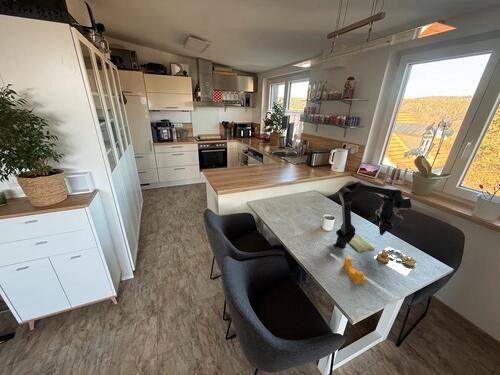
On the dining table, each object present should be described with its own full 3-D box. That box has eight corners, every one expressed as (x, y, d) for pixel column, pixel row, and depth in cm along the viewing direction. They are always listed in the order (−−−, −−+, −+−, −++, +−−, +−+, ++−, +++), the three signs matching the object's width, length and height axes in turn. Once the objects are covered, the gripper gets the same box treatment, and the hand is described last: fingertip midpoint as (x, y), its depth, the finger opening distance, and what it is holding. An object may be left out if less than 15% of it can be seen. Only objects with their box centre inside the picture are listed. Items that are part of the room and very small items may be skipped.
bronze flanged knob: (385, 264, 110) (388, 256, 108) (374, 258, 114) (377, 250, 112) (390, 260, 113) (393, 252, 111) (379, 254, 118) (382, 246, 115)
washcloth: (355, 234, 137) (356, 231, 136) (375, 252, 121) (376, 248, 120) (338, 237, 134) (339, 233, 133) (357, 255, 119) (358, 251, 117)
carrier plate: (405, 277, 103) (408, 270, 101) (373, 259, 115) (375, 252, 113) (418, 263, 113) (421, 257, 111) (387, 247, 125) (389, 241, 123)
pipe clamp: (363, 283, 100) (367, 273, 97) (355, 284, 99) (358, 274, 97) (350, 265, 111) (353, 256, 108) (343, 266, 110) (345, 256, 108)
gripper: (409, 219, 102) (399, 243, 108) (400, 204, 118) (392, 226, 124) (384, 214, 106) (376, 238, 112) (379, 200, 122) (372, 221, 128)
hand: (379, 230), depth 119 cm, fingers open, 9 cm apart
